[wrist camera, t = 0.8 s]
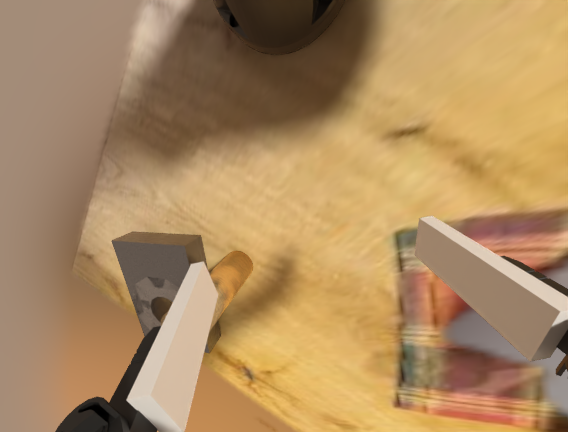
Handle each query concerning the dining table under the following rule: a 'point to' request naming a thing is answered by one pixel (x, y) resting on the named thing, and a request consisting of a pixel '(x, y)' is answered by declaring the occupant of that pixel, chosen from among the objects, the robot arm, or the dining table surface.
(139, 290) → the jig
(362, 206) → the dining table surface
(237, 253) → the amber cylindrical peg
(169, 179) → the dining table surface
